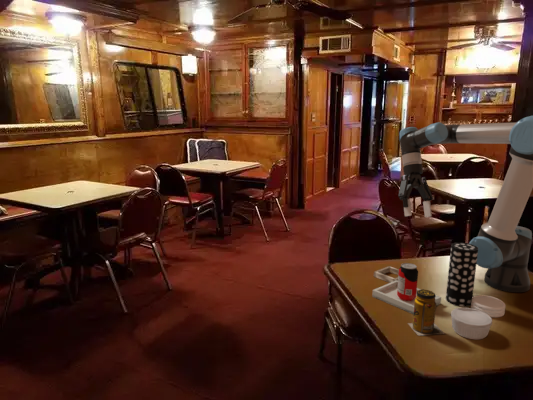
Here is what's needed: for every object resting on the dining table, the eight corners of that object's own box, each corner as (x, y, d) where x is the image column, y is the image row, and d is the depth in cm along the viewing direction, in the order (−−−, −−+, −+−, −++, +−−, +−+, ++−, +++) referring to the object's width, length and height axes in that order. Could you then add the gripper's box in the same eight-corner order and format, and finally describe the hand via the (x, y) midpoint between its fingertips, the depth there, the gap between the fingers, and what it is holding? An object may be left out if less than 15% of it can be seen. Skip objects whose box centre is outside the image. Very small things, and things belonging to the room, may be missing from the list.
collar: (410, 278, 163) (410, 273, 163) (394, 284, 157) (395, 279, 157) (388, 270, 171) (389, 266, 170) (373, 276, 165) (373, 271, 164)
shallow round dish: (505, 308, 139) (506, 299, 138) (503, 321, 131) (504, 311, 130) (472, 301, 144) (473, 292, 144) (468, 313, 136) (470, 303, 135)
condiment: (407, 323, 129) (410, 288, 126) (433, 322, 130) (436, 286, 127) (417, 336, 122) (421, 298, 119) (445, 334, 123) (449, 297, 120)
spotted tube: (474, 307, 139) (481, 251, 135) (448, 305, 141) (454, 249, 137) (468, 296, 147) (474, 243, 143) (443, 294, 149) (448, 241, 144)
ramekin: (481, 323, 129) (483, 308, 128) (497, 343, 118) (499, 326, 117) (444, 321, 130) (446, 306, 129) (456, 340, 120) (458, 324, 118)
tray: (440, 303, 142) (441, 297, 141) (417, 316, 134) (418, 309, 133) (395, 286, 156) (396, 280, 155) (372, 296, 147) (372, 290, 147)
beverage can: (417, 302, 141) (420, 269, 138) (398, 301, 142) (400, 268, 139) (413, 294, 147) (416, 262, 145) (395, 293, 148) (398, 261, 145)
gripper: (422, 170, 180) (428, 218, 176) (385, 164, 165) (391, 216, 161) (437, 166, 174) (444, 215, 170) (401, 159, 159) (407, 214, 156)
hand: (418, 216), depth 166 cm, fingers open, 13 cm apart
